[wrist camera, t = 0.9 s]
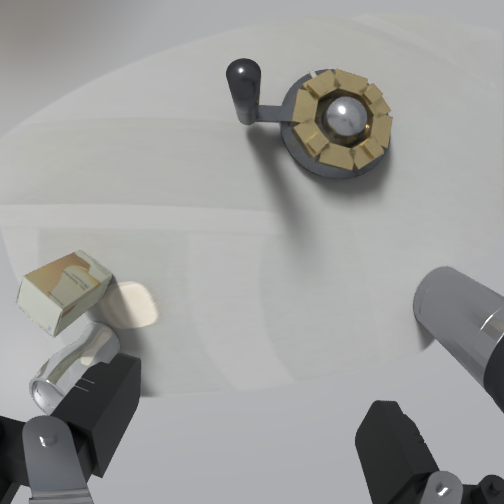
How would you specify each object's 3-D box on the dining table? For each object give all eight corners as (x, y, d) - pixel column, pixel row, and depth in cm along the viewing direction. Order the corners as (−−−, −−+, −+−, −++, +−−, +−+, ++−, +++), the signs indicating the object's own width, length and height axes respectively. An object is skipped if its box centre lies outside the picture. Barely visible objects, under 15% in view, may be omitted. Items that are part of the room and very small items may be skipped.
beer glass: (92, 309, 38) (33, 365, 24) (131, 340, 39) (85, 407, 25) (76, 340, 40) (23, 396, 25) (112, 368, 41) (69, 433, 26)
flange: (391, 92, 31) (411, 81, 26) (374, 190, 34) (394, 193, 29) (290, 61, 31) (296, 43, 26) (269, 164, 34) (271, 161, 29)
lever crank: (387, 94, 30) (454, 58, 16) (373, 178, 32) (442, 183, 18) (250, 57, 29) (248, -10, 15) (231, 144, 32) (214, 121, 18)
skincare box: (114, 274, 37) (65, 311, 25) (102, 299, 38) (55, 341, 26) (77, 247, 36) (21, 274, 24) (67, 272, 37) (14, 305, 25)
